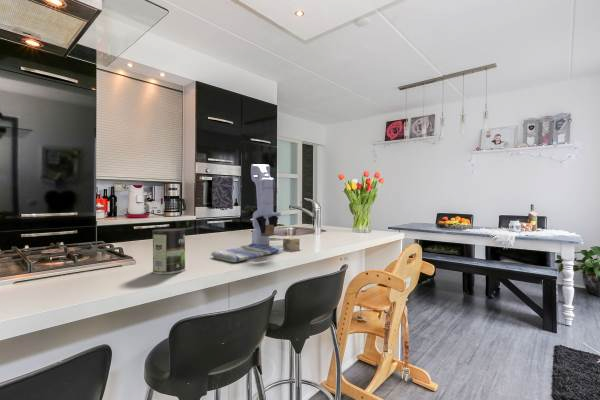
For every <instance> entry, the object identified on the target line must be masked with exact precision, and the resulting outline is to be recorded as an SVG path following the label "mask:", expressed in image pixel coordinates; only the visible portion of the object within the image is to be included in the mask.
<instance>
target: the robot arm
mask: <svg viewBox="0 0 600 400" xmlns="http://www.w3.org/2000/svg"><path fill="white" fill-rule="evenodd" d="M250 177H251V181H252V182H253V183H254V185H255V187H256V188H255V190H256V205H257V207H256V208H257V209H256V210H255V211H254V212H253V213H252V226H253V230H252V232H251V244H255V245H259V246H267V245H270V236H261V233H265V224H270V225H274V228H275V227H276V225H277V224H276V223H277V222H278V220H279V217H281V215H282V214H281V213H282V212H280V211H277V212H274V190H275V186H276V183H275V178H274V177H271V166H270V165H269V163H268V164H259V163H258V164H254V163H252V164H251V166H250Z"/></svg>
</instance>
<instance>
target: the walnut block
mask: <svg viewBox="0 0 600 400" xmlns="http://www.w3.org/2000/svg"><path fill="white" fill-rule="evenodd" d="M261 236H269V237H273V236H275V227H274V225H270V224H265V233H261Z"/></svg>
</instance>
